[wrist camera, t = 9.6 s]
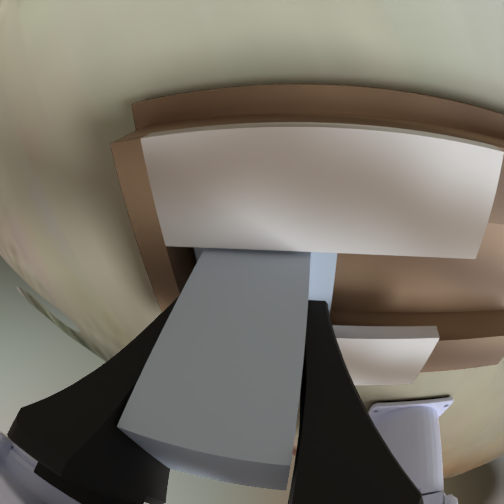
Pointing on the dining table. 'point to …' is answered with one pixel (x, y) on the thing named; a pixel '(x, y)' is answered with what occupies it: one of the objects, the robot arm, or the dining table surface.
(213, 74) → the dining table surface
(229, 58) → the dining table surface
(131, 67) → the dining table surface
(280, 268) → the t stud
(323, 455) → the robot arm
